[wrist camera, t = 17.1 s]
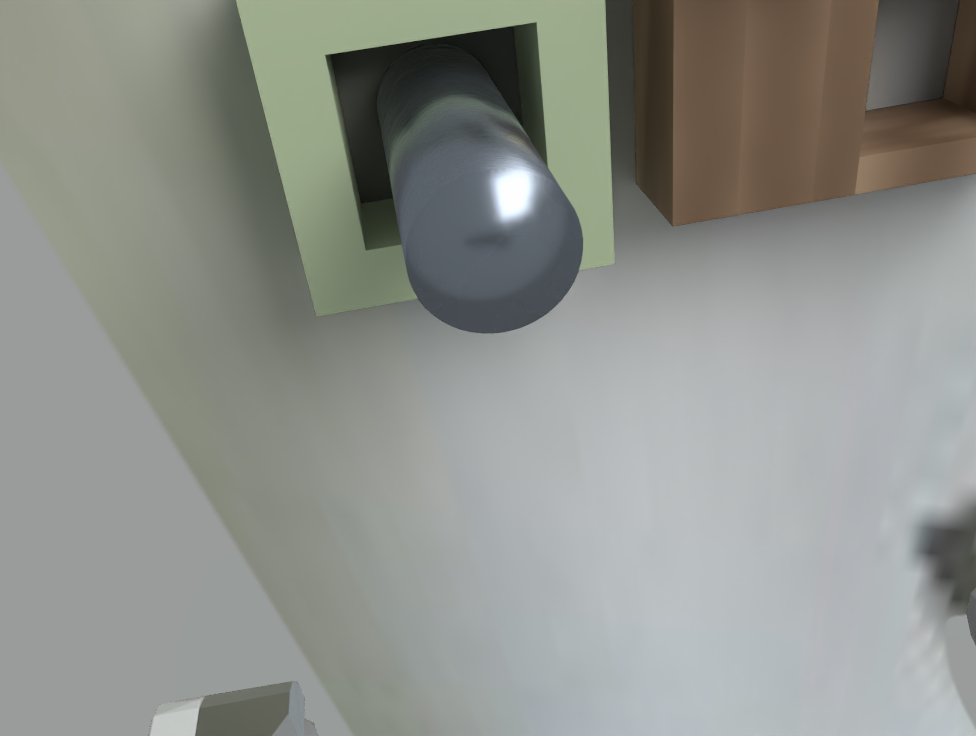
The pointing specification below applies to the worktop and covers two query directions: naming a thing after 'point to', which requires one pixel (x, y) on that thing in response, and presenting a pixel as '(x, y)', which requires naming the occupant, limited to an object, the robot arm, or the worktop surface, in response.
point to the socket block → (783, 107)
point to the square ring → (324, 144)
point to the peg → (472, 196)
